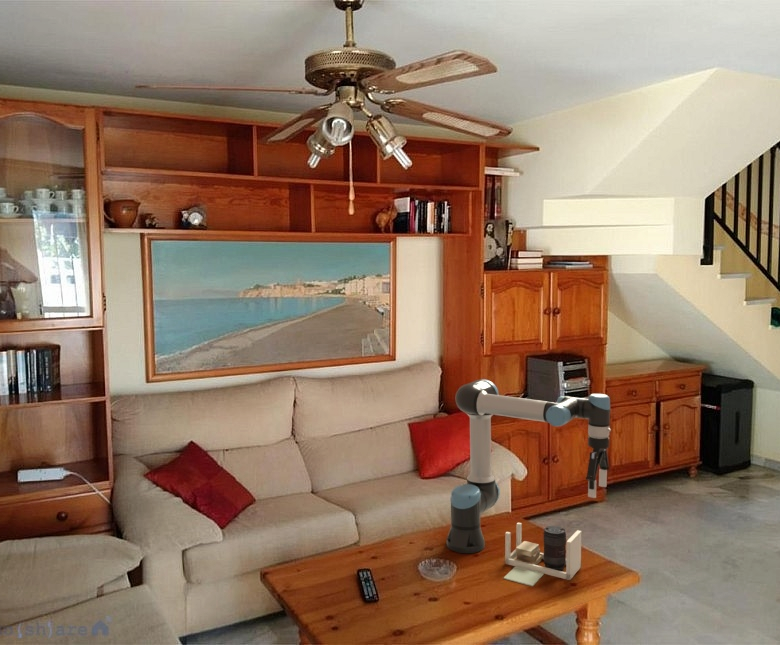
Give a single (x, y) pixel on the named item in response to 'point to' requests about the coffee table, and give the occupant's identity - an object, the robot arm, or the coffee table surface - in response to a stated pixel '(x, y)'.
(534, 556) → the offcut middle
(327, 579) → the coffee table surface
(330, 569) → the coffee table surface
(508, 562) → the rack
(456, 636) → the coffee table surface
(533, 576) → the mat
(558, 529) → the camera lens
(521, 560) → the plate
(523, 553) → the offcut top
